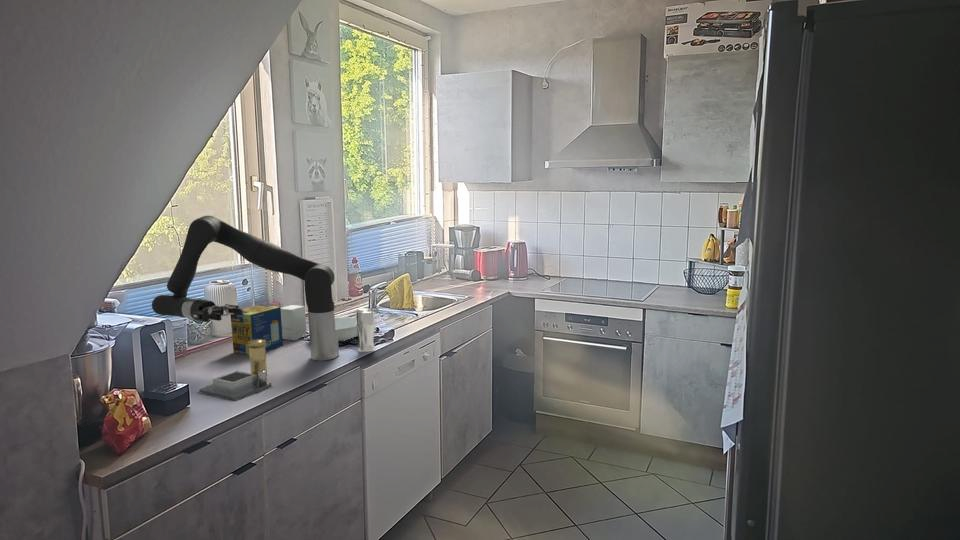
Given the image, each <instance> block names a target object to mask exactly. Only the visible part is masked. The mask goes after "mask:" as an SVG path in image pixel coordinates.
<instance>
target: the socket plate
mask: <svg viewBox="0 0 960 540" xmlns="http://www.w3.org/2000/svg"><path fill="white" fill-rule="evenodd" d="M258 377H259V379H257V375H255V374H251V372H250V373H249V372H244V371H239V370H235V371H231V372H229V373H226V374H224V375H221V376H218V377H214V378H212V384H210V385H207V386H204V387H201V388H198V393H200V392H202V393H201V394H204V393H205V395H208V394H209V396H213V397H217V396H218V397H217V398H222V399H226V400H229V401H234V402H235V401H238V400H241V399H243V398H246V397H248V396H252V395H253V394H257V393H258V392H261V391H264V390H266V389H269V388H271V387H272V382H268V374H267V375H266V370H261V371H258Z"/></svg>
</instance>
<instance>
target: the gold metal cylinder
mask: <svg viewBox="0 0 960 540" xmlns="http://www.w3.org/2000/svg"><path fill="white" fill-rule="evenodd" d="M265 345H266V340H263V339H256V340H251V341H249V342H248V347H249V354H250V355H249V365H250V374H255V375H257V380H259V377H258V371H261V370H266V375H267V376H268V366H267V353H266V352H267V351H266V350H265Z"/></svg>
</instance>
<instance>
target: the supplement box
mask: <svg viewBox="0 0 960 540" xmlns="http://www.w3.org/2000/svg"><path fill="white" fill-rule="evenodd" d="M305 308H306V307H305V305H297V304H291V305H287V306H283V307H281V322H282V337H283V340H286V341H287V340H288V341H297V340H300V339H299V338H301V337H302V336H303V335H305V334H308V333H307V321H306V309H305ZM301 339H302V338H301Z"/></svg>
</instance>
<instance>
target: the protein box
mask: <svg viewBox="0 0 960 540" xmlns="http://www.w3.org/2000/svg"><path fill="white" fill-rule="evenodd" d="M281 308H282V307H281V306H276V305H275V306H274V305H268V304H262V303H261V304H257V305H253V306H249V307H246V308H241V309H242V311H243V315H233V314H230V323H231V335H232V336H231V337H232V351H233V353H235V354H241V355H245V356H246V355H247V356H250V354H249V347H248V342H249V341H251V340H256V339H263V340H266V345H265V350H266V352H269V351H272V350H274V348H275V349H277V347H278V348H280V346H281V347H283V346H284V341H283V340H284V339H283V337H282V322H281ZM268 350H269V351H268Z"/></svg>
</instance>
